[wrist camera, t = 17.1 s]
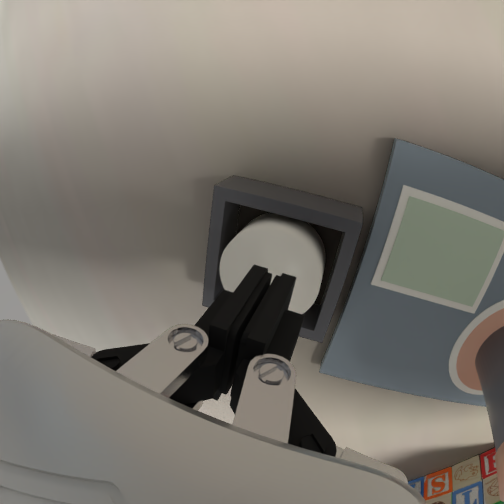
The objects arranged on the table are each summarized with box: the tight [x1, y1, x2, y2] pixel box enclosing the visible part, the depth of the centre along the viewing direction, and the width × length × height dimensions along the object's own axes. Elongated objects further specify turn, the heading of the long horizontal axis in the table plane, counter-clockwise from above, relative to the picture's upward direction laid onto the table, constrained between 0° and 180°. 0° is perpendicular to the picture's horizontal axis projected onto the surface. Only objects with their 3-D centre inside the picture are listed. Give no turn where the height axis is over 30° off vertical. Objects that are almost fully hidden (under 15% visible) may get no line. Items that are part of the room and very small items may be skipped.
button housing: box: [202, 175, 363, 343], centre depth 16 cm, size 7×7×2 cm
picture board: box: [319, 138, 504, 407], centre depth 14 cm, size 17×14×1 cm
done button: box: [220, 213, 326, 314], centre depth 15 cm, size 5×5×2 cm
